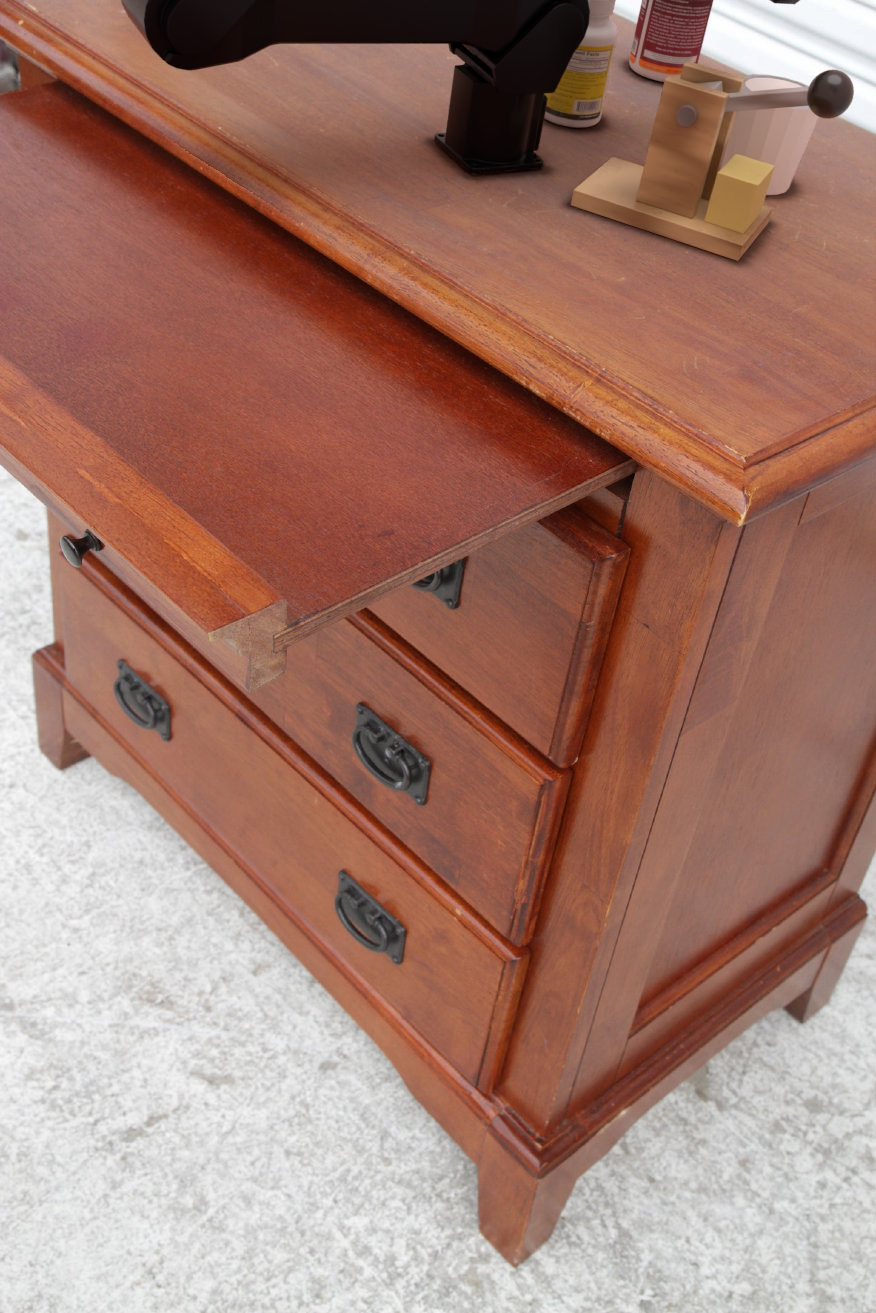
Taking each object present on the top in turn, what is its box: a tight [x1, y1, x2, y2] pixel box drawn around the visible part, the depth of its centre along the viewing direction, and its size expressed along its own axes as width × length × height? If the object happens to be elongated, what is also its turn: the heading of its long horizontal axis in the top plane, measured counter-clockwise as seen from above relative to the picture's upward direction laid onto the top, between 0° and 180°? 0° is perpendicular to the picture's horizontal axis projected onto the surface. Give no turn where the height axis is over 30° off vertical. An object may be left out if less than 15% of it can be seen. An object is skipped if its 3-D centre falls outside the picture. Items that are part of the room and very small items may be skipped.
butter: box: [704, 154, 775, 234], centre depth 92 cm, size 4×3×4 cm
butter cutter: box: [570, 61, 774, 262], centre depth 92 cm, size 13×8×10 cm, turn 63°
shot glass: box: [720, 73, 820, 196], centre depth 100 cm, size 7×7×7 cm
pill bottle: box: [628, 0, 714, 83], centre depth 115 cm, size 6×6×11 cm
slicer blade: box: [695, 69, 855, 120], centre depth 88 cm, size 12×3×3 cm, turn 63°
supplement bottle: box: [544, 0, 619, 128], centre depth 104 cm, size 5×5×10 cm
